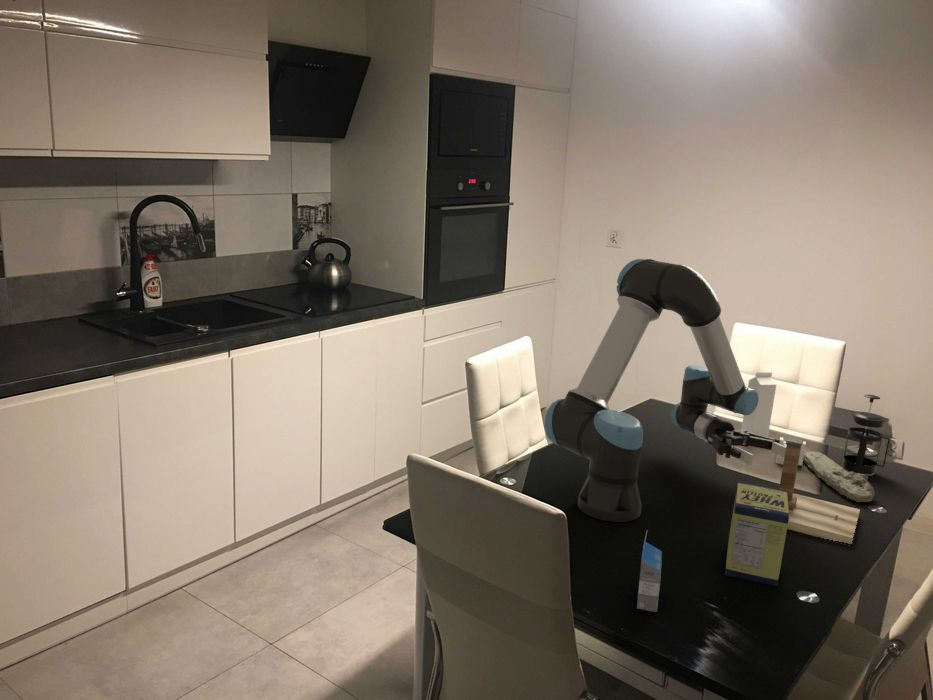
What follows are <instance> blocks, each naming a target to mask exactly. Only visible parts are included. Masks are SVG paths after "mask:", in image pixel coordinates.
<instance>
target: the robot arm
mask: <svg viewBox="0 0 933 700" xmlns="http://www.w3.org/2000/svg"><path fill="white" fill-rule="evenodd" d="M616 283H617V285H616V292H617V298H616V301H617V304H618V306H619V307H618V309H617V311H616V313H615V314H614V316H613V319H612V320H611V323H610V325H609V326H608V328H607V330H606V332H605V334H604V336H603V337H602V340H601V341H600V343H599V346H598V347H597V349H596V351H595V353H594V355H593V356H592V359H591V361H590V363H589V364H588V367H587V368H586V370H585V372H584V374H583V376H582V377H581V380H580V381H579V383H578V386H577V387H576V388H573V389H569V390H568V392H567V394H566V396H565V397H564V398H560V399H559V398H558V399H557V400H556V401H553V402H552V403H551V404H550V405H549V407H548V408H547V411H546V413H545V417H544V428H545V435H546V436H547V438H548V440H550V441H551V443H553V444H555V445H556V446H558V447H559V448H561V449H562V450H567V451H569V452H571V453H574V454H576V455H578V456H580V457H582V458H585V459H587V460H589V466H588V475H587V478H586V479H585V482H584V483H583V485H582V488H581V490H580V492H579V494H578V497H577V498H578V500H577V508H578V509H579V510H580V511H581V512H582V513H584V514H585V515H587V516H588V517H591V518H595V519H597V520H601V521H605V522H613V523H625V522H632V521H634V520H637V519H638V518H639V517H640V516H641V513H642V512H641V511H642V502H641V495H640V490H639V486H638V478H639V477H638V476H639V470H640V463H641V456H642V455H641V454H642V449H643V444H644V441H643V440H644V438H643V436H644V429H643V424H642V422H640V420H639V419H637V418H636V417H635V416H633V415H631V414H629V413H626V412H623V411H618V410H614V409H610V407H609V401H610V400H611V398H612V396H613V394H614V392H615V390H616V388H617V386H618V384H619V383H620V380H621V378H622V377H623V376H624V375H623V374H624V373H625V371H626V369H627V367H628V365H629V363H630V361H631V359H632V357H633V356H634V353H635V352H636V350H637V347H638V345H639V344H640V342H641V340H642V338H643V336H644V334H645V332H646V330H647V328H648V326H649V324H650V323H651V322H653V321H657V320H659V318H660V316H661V314H662V313H663V310H667V311H671V312H674V313H676V314H678V315H679V316H680V317H681V319H682V321H683V323H684V325H685V326H687V327H689V328H690V331H691V332H692V335H693V337H694V340H695V342H696V345H697V348H698V350H699V352H700V354H701V356H702V359H703V362H704V364H705V366H704V365H699V364H692V365H688V366H687V367H685V368H684V374H683V379H682V386H681V395H680V396H681V397H680V402H678V403H676V404H675V405H674V406H673V409H672V410H671V412H670V419H671V422H672V423H673V425H674V426H676V427H678V428H679V429H680V430H682V431H684V432H687V433H689V434H691V435H694V436H695V437H697V438H699V439H701V440H703V442H705V443H708V444H709V445H710V446H712V447H713V449H714V450H715V452H716V453H717V454H718V455H719V456H723V455H724V454H725V455H724V457H725V458H726V459H731V457H733V458H735V459H737V460H739V461H741V462H743V463H745V464H747V465H749V466H752V465H753V460H754V454H753V453H751V452H749V451H747V450H745V449H742V448H741V447H745V448H747V447H752V448H753V447H754V448H759V449H763V450H768V451H771V453H773V454H775V455H776V456H777V455H779V456H781V457H785V451H786V447H785V446H783V445H781V444H780V439H778V438H777V437H775V438H774V437H770V436H768V437H767V436H763V435H759V434H755V433H752V432H749V431H747V430H746V431H744V433H742V432H741V430H736V429H735V427H734V425H733V424H732V422H729V421H728V420H726V419H723V418H722V417H719V416H717V415H715V414H712V413H710V412H708V406H709V405H711V406H712V407H713V406H714V407H716V408H719V409H723V410H725V411H727V412H732V413H734V414H739V415H743V416H744V415H750V414H752V413H753V412H754V410H755V409H756V407H757V405H758V400H759V396H758V393H757V391H755V390H754V389H751V388H750V387H748V386H746V384H745V382H744V379H743V376H742V374H741V371H740V369H739V366H738V363H737V360H736V358H735V355H734V352H733V349H732V347H731V344H730V341H729V339H728V336H727V333H726V331H725V328H724V325H723V323H722V320H721V317H720V316H721V314H722V307H721V305H720V302H719V300H718V298H717V296H716V293H715V292H714V290H713V289H712V287H711V285H710V284H709V282H707V280H706V279H705V278H704V277H703V276H702V275H701V274H700V273H699V272H697V271H696V270H694V268H691V267H690V266H687V265H684V264H678V263H677V264H676V263H669V262H666V261H659V260H655V259H651V258H637V259H634V260H631V261H629V262H628V263H626V265H625V266H623V268H622V269H621V271H620V272H619V274H618V276H617V280H616Z"/></svg>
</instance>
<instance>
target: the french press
mask: <svg viewBox="0 0 933 700" xmlns="http://www.w3.org/2000/svg"><path fill="white" fill-rule="evenodd" d="M863 396H864V397H865V398H867V399H869V403H870V404H869V408H868V412H867V411H852V412H851V416H852V418H853V420H854V422H855V423H856V425H859V426H862V427H859V426H854V427H852V426H851V427H849V428H848V432H847V436H846V440H845V441H846V442H845V447H844V452H843V456H842V464H841V465H840V466H841V467H843V468H844V469H845V470H848V471H851V472H856V473H861V474H872V473H875V472H876V473H877V467H879V468H884V467H885V465H886V460H887V455H888V449H889V444H890V439H891V438H890V436H885V435H883V434H882V432H880V431H877V430H873V429H871V428H877V429H878V428H879V429H880V428H882V427H883V426H884V422H886V421H887V420H886V417H885V416H882V415H880V414H876V413H873V412H871V410H872V404H873V403H874V401H875V400H881V397H880V396H877V395H874V394H864V395H863ZM855 432H856V433H855ZM858 432H859V433H861V434H858ZM869 435H872V436H869ZM849 436H850V437H852V438H854V439H857V440H859V445H854V444H853V445H848V440H849ZM883 439H886V440H887V444H886V447H885V448H886V449H885V453H884V460H883V464H882V463H879V462H878V461H879V457H880V451H881V446H882V442H883V441H882V440H883ZM868 442H872V443H873V442H874V443H877V442H879V447H878V451H876V450H874V449H872V448H869V447H867V445H868ZM846 451H847V452H849V453H850V454H846ZM875 457H877V458H876V461H875V460H874V459H871V458H875ZM855 463H856V464H855ZM865 465H866V466H865Z"/></svg>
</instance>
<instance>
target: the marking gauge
mask: <svg viewBox="0 0 933 700" xmlns="http://www.w3.org/2000/svg"><path fill="white" fill-rule="evenodd" d="M785 441H786V451H785V457H784V463H783V464H782V470H781V476H780V481H779V486H778V487H779V488H778V489H781V490H787V497H788V510H791V511H793V509H794V507H795V505H796V502H797V497H795V496H793V493H794V490H795V486H796V485H795V484H796V480H797V473H798V468H799V465H798V462H799V456H800V450H801V446H802V444H803V441H804V440H803V439H798V438H795V437H787V439H786V440H785Z"/></svg>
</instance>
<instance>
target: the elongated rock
mask: <svg viewBox="0 0 933 700" xmlns="http://www.w3.org/2000/svg"><path fill="white" fill-rule="evenodd" d="M803 462H804V464H805V465H806V466H807V467H808V468H809V470H810V471H811V472H813V473H814V475H816V476H817V478H818V479H820V478H821V480H822V481H824V483H825V484H826V485H827V486H828V485H829V487H830V486H831V487H832V488H833V490H834V489H835V490H836V492H837V491H838V492H839V493H840V494H842V495H844V496H843V497H845V496H846V497H847V498H846V497H845V498H846V499H848V498H849V500H851V501H853V500H854V501H856V502H855V503H859V502H860V503H861V502H869V503H871V502H872V501H873V498H874V497H875V490H874V487H873V486H872V484H871V483H870V482H869V481H868V479H869V477H867V475H865V474H860V473H854V472H848V471H846V470H845V469H844V468H843V467H841V465H840V464H838V463H837V462H835V461H834V460H833V459H832V458H830V457H828V456H827V455H826V454H824V453H822V452H819V451H812V450H810V451H805V452H804V458H803ZM831 487H830V488H831ZM832 488H831V489H832ZM835 490H834V491H835ZM838 492H837V493H838ZM839 493H838V494H839ZM840 494H839V495H840ZM870 501H871V502H870Z"/></svg>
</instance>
